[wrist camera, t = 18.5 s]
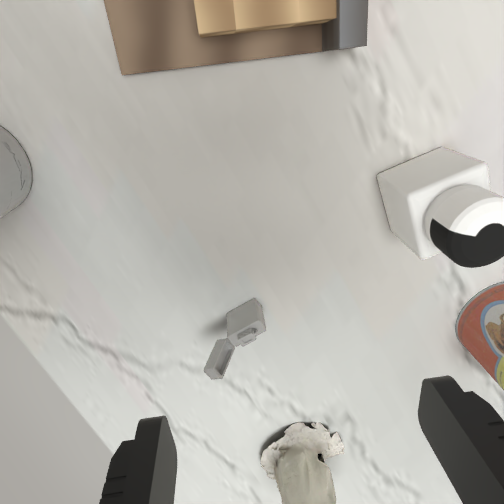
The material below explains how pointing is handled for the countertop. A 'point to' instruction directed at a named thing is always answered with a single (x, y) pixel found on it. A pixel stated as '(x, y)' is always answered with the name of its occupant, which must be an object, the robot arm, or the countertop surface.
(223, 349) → the lighter
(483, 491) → the robot arm
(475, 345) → the canned food
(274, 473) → the mushroom
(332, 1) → the socket block
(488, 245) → the medicine bottle
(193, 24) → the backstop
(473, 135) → the countertop surface
